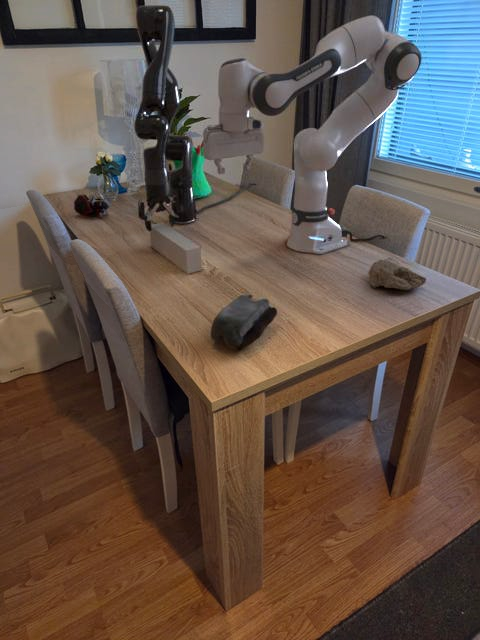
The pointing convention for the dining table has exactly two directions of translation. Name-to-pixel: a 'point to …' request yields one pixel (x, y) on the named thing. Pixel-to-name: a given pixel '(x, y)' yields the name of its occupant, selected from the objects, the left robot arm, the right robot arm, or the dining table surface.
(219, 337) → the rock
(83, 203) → the toy
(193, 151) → the toy
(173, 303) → the dining table surface
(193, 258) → the bar
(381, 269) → the artifact
